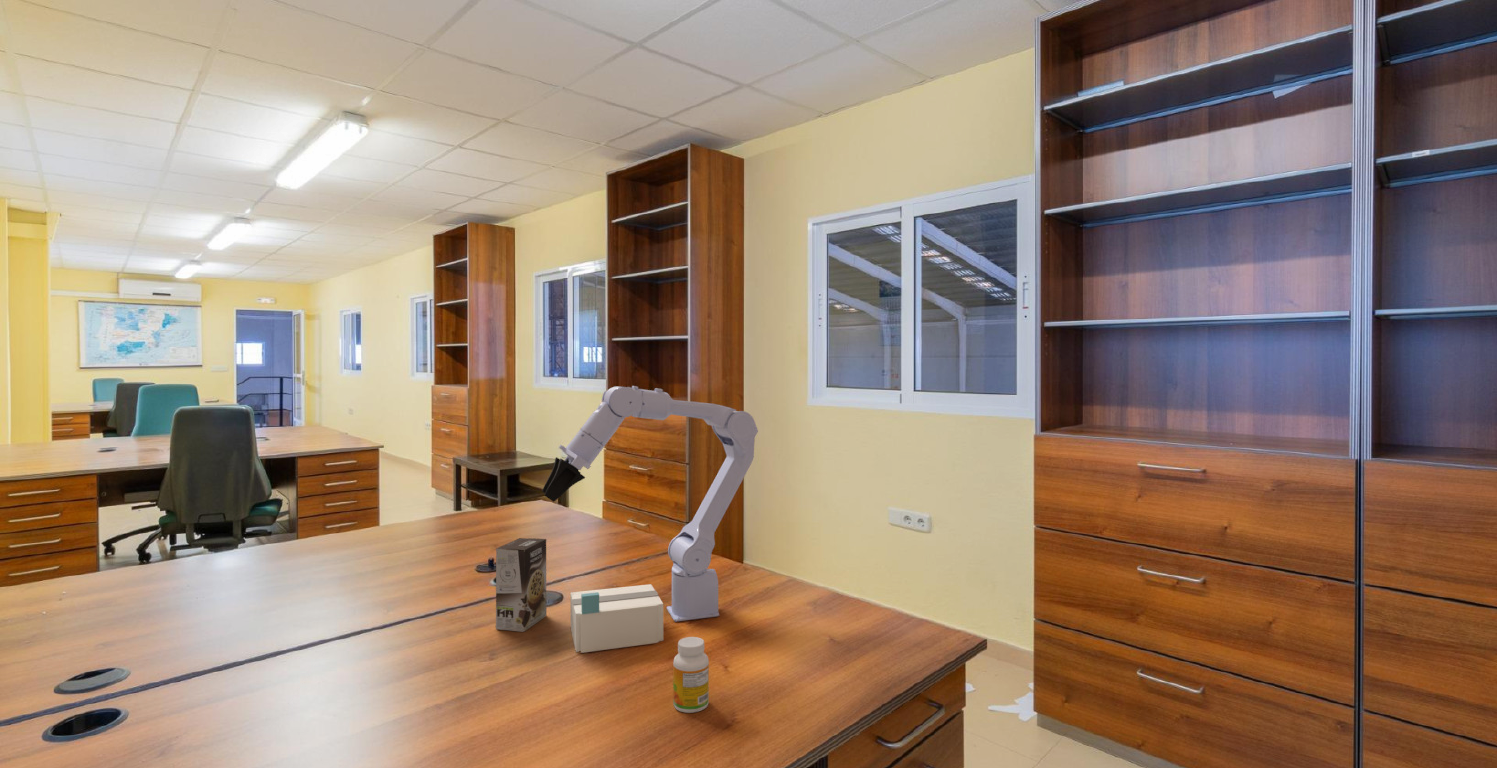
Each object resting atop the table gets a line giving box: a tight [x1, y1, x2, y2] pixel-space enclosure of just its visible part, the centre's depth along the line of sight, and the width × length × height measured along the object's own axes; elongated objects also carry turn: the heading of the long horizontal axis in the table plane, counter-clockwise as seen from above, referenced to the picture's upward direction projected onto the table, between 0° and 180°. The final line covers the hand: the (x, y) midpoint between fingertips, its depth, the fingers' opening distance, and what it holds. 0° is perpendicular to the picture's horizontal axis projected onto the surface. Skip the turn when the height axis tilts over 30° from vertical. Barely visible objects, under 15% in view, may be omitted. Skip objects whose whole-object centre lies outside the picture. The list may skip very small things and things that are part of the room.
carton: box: [570, 584, 664, 653], centre depth 129 cm, size 16×12×7 cm
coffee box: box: [495, 537, 547, 633], centre depth 135 cm, size 9×6×16 cm
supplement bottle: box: [672, 636, 710, 714], centre depth 102 cm, size 5×5×10 cm
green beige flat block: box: [580, 592, 659, 653], centre depth 123 cm, size 14×1×10 cm, turn 109°
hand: (547, 496), depth 127 cm, fingers open, 7 cm apart
